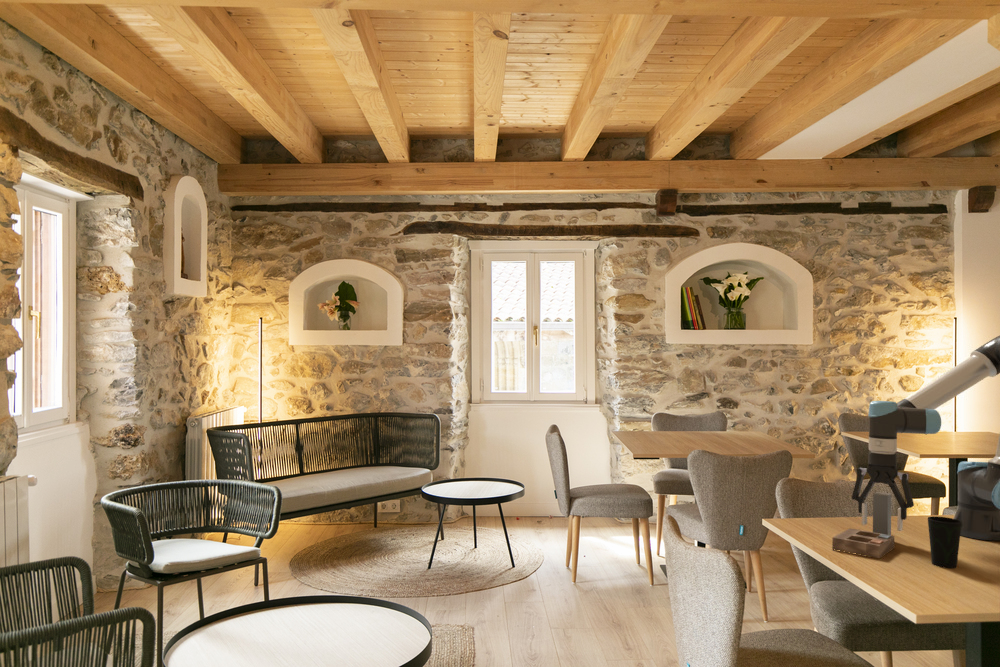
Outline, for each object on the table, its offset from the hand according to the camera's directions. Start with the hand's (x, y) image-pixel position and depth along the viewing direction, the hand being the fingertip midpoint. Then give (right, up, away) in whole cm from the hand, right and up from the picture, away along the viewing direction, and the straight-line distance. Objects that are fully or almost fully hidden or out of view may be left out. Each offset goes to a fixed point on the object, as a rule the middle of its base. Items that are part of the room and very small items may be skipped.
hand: (881, 527), depth 211 cm
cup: (+3, -3, -25) cm, 25 cm away
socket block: (-11, -3, -10) cm, 16 cm away
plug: (0, -4, 0) cm, 4 cm away
